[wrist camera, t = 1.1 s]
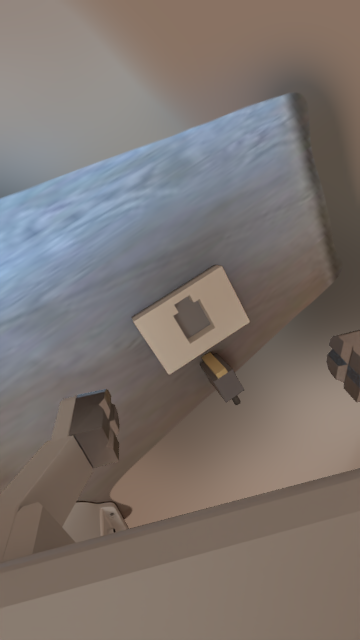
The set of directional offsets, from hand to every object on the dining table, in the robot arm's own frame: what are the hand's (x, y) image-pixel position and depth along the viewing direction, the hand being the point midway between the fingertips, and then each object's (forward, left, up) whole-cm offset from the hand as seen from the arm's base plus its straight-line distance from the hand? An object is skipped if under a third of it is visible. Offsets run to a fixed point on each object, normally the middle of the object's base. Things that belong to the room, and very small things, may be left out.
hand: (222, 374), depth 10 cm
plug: (-24, -4, -41) cm, 48 cm away
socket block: (-12, -5, -41) cm, 43 cm away
